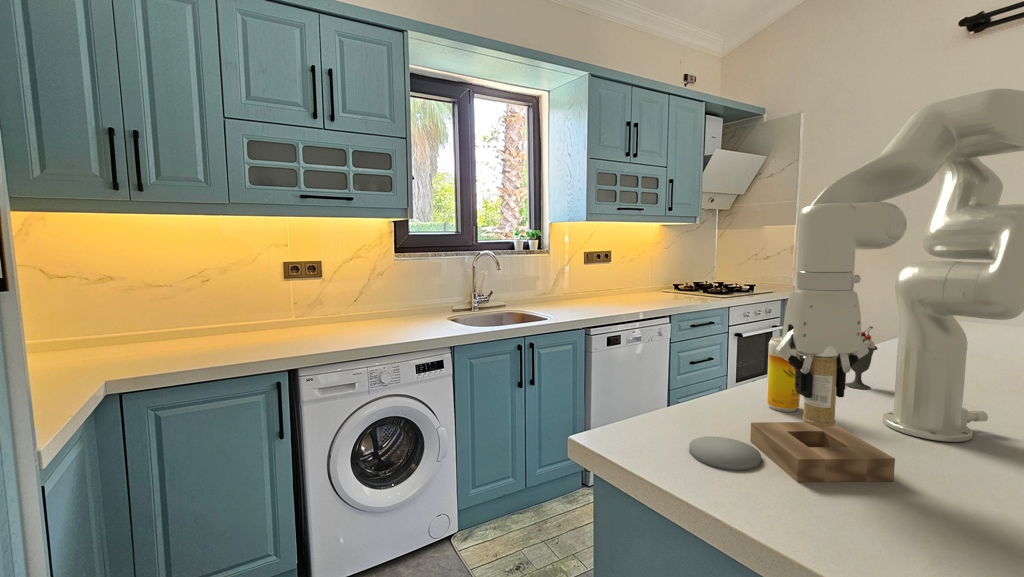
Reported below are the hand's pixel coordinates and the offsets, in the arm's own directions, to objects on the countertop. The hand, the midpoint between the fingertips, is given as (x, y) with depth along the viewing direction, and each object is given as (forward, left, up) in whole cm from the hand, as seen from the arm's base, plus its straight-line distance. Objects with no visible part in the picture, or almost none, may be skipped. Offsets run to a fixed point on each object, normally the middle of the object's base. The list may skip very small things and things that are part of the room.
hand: (819, 393), depth 75 cm
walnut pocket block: (0, 0, -11) cm, 11 cm away
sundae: (-34, -38, -11) cm, 52 cm away
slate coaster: (+14, -2, -11) cm, 18 cm away
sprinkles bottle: (0, 0, -5) cm, 5 cm away
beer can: (-8, -24, -11) cm, 28 cm away
